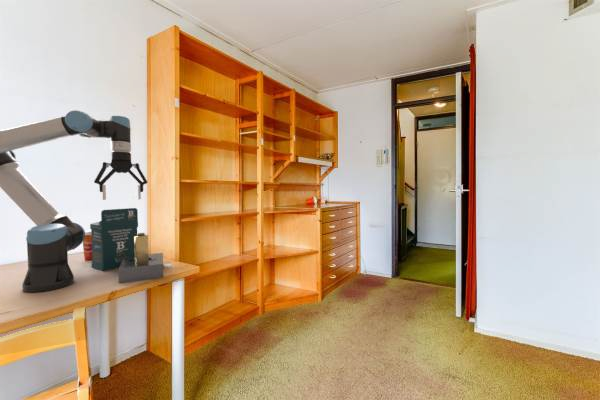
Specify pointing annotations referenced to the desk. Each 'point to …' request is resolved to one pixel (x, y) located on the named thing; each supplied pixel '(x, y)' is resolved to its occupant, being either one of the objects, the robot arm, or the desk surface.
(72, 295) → the desk surface
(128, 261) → the housing
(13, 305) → the desk surface
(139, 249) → the tan upright cylinder
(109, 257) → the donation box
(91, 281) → the desk surface
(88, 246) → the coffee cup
